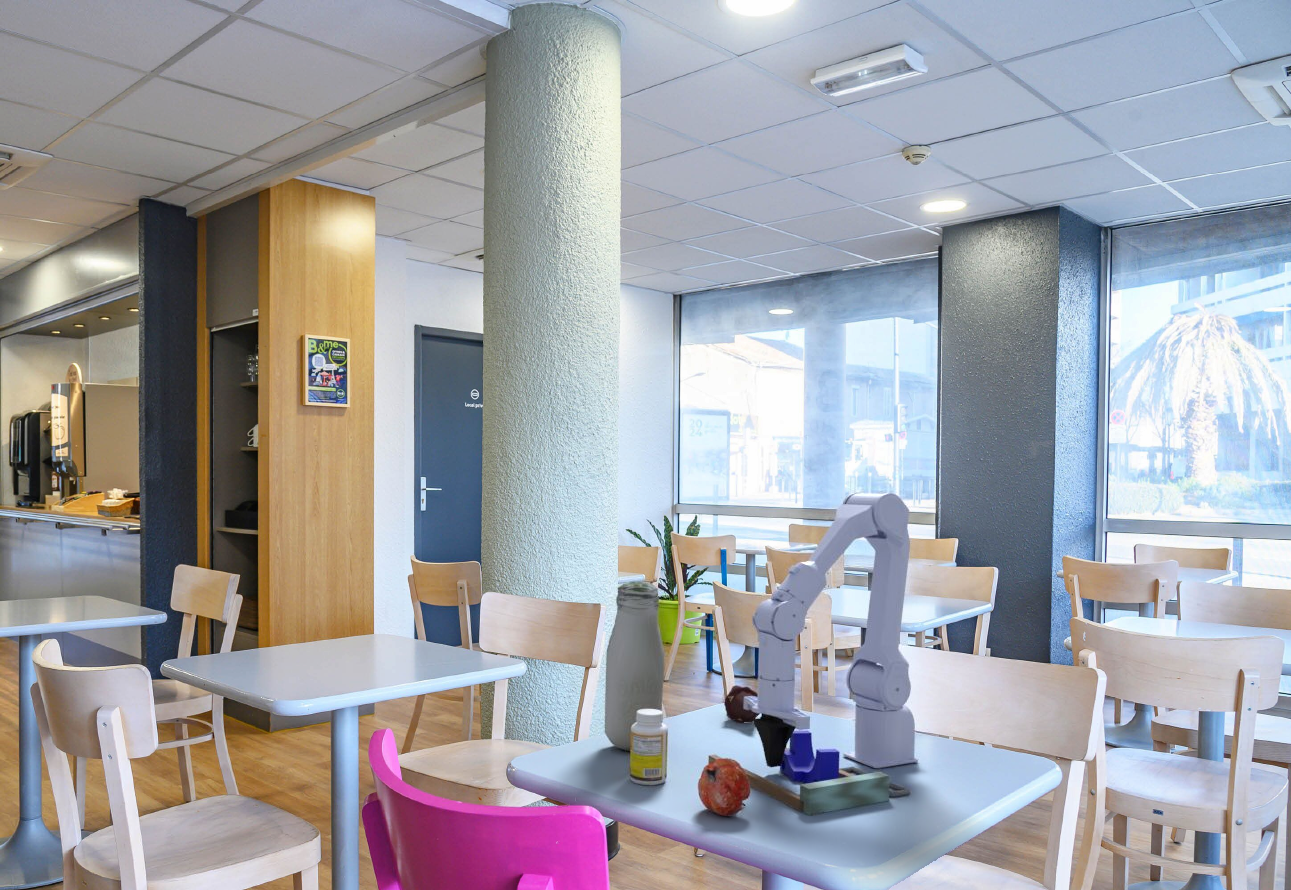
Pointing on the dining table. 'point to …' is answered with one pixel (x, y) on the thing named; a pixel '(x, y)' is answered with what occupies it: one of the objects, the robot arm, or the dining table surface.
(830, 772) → the cable clip
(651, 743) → the supplement bottle
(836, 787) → the guide lane
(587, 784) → the dining table surface
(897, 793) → the cord loop
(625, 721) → the glass bottle
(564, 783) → the dining table surface
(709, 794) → the pomegranate
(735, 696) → the icecream
